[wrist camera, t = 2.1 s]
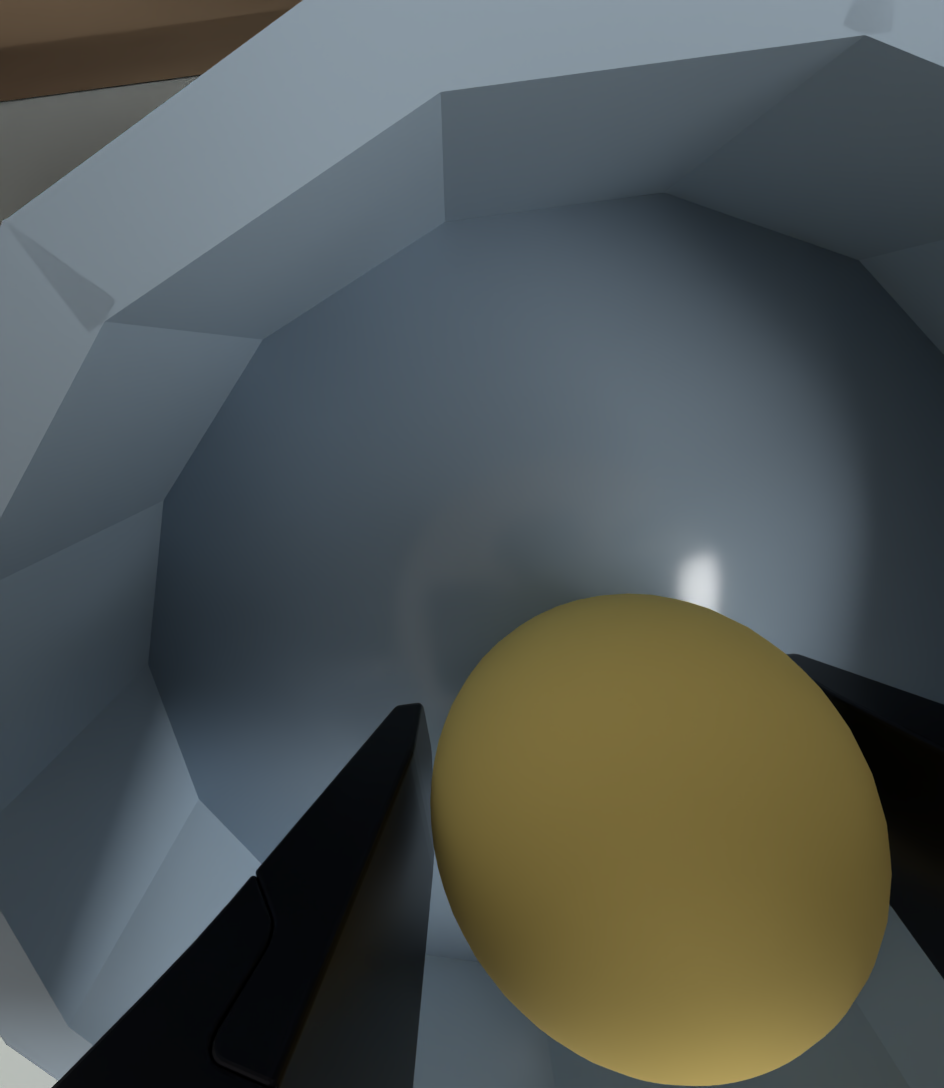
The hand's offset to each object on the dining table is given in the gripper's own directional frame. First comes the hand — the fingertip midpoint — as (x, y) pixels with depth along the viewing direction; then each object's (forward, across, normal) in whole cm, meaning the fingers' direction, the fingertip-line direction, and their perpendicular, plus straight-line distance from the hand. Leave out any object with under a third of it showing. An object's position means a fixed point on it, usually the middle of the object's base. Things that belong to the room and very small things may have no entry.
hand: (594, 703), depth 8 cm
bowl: (+1, 0, 0) cm, 1 cm away
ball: (+1, 0, 0) cm, 1 cm away
